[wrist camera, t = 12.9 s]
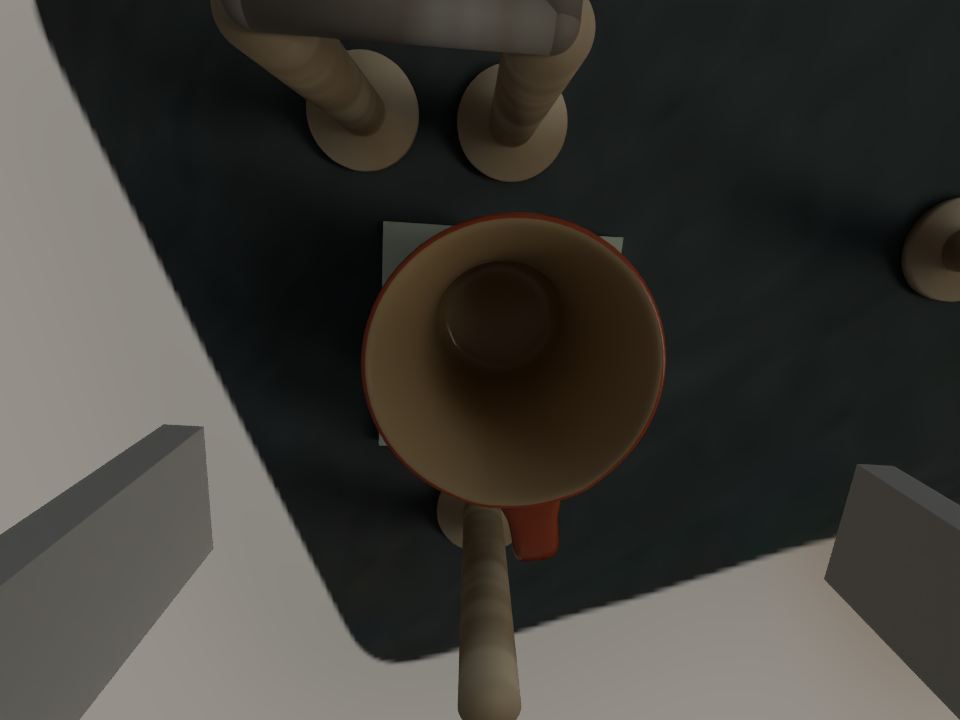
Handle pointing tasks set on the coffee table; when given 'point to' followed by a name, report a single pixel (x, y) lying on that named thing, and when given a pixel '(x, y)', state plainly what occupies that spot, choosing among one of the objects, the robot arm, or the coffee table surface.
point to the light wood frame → (389, 94)
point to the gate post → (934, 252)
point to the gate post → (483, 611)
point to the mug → (514, 366)
